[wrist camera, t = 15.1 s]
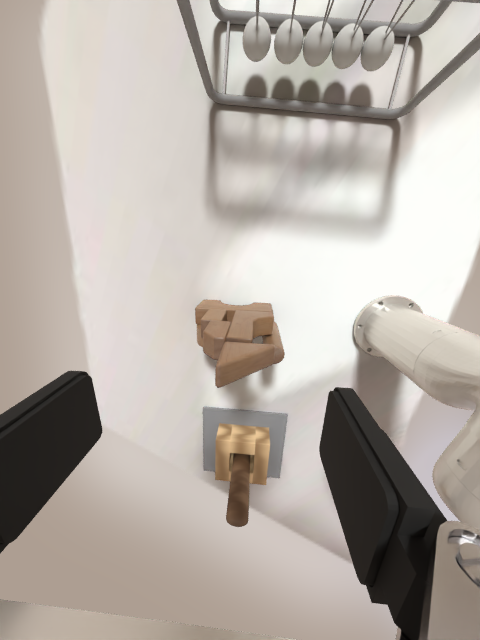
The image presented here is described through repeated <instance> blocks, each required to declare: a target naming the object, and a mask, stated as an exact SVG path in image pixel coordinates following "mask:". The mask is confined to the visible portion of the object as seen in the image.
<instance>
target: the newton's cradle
mask: <svg viewBox="0 0 480 640" xmlns="http://www.w3.org/2000/svg"><path fill="white" fill-rule="evenodd" d="M373 1H374V0H372V1H371V3H370V5H369V7H368V9H367V10H366V12H365V14H364V16H363V18H362V20H359V18H360V15H361V13H362V10H363V7H364V5H365V2H366V0H365V1H364V4H363V6H362V9H361V11H360V14H359V17H358V19H357V20H355V19H342V18H328V16H329V14H330V11H331V8H332V5H333V2H334V0H332V3H331V6H330V9H329V12H328V15H327V11H328V7H329V4H330V0H329V2H328V6H327V10H326V13H325V17H315V16H302V15H294V10H295V4H296V0H294V5H293V12H292V15H288V14H275V13H261V12H259V0H256V12H248V11H235V10H227V9H224V8H223V7H222V6H221V5H220V4H219V2H218V0H210V5H211V8H212V11H213V12H214V14H215V16H216V17H217V18H218V19H219V20H221V21H223V22H225V23H227V34H226V49H225V64H224V79H223V94H221V93H218V92H216V91H215V90H214V89H213V86H212V82H211V78H210V75H209V71H208V67H207V64H206V60H205V56H204V53H203V49H202V45H201V42H200V38H199V34H198V31H197V27H196V23H195V20H194V16H193V12H192V9H191V5H190V1H189V0H177V3H178V6H179V9H180V12H181V15H182V18H183V21H184V24H185V27H186V31H187V34H188V37H189V40H190V43H191V46H192V49H193V52H194V55H195V58H196V62H197V65H198V68H199V71H200V74H201V77H202V80H203V83H204V86H205V89H206V92H207V94H208V96H209V97H210V98H211V99H212V100H213V101H215V102H217V103H220V104H227V105H238V106H249V107H260V108H271V109H282V110H293V111H304V112H315V113H326V114H337V115H348V116H359V117H370V118H381V119H395V118H399V117H402V116H404V115H406V114H407V113H409V112H410V111H411V110H412V109H414V108H415V107H416V106H417V105H418V104H419V103H420V102H421V101H422V100H424V99H425V98H426V97H427V96H428V95H429V94H430V93H431V92H432V91H434V90H435V89H436V88H437V87H438V86H439V85H440V84H441V83H442V82H444V81H445V80H446V79H447V78H448V77H449V76H450V75H451V74H452V73H454V72H455V71H456V70H457V69H458V68H459V67H460V66H461V65H462V64H464V63H465V62H466V61H467V60H468V59H469V58H470V57H471V56H472V55H474V54H475V53H476V52H477V51H478V50H479V49H480V33H479V34H478V35H477V36H476V37H475V38H474V39H473V40H472V41H471V42H470V43H469V44H468V45H467V46H466V47H465V48H464V49H463V50H462V51H461V52H460V53H459V54H458V55H457V56H456V57H454V58H453V59H452V60H451V61H450V62H449V63H448V64H447V65H446V66H445V67H444V68H443V69H442V70H441V71H440V72H439V73H438V74H437V75H436V76H435V77H434V78H433V79H432V80H431V81H430V82H429V83H428V84H427V85H426V86H425V87H424V88H423V89H422V90H421V91H419V92H418V93H417V94H416V95H415V96H414V97H413V98H412V99H411V100H410V101H409V102H408V103H407V104H406V105H405V106H403V107H400V108H396V109H391V108H392V105H393V101H394V97H395V93H396V89H397V85H398V81H399V78H400V74H401V70H402V66H403V62H404V58H405V54H406V51H407V47H408V43H409V39H410V37H414V36H417V35H420V34H422V33H424V32H425V31H427V30H428V29H430V28H431V27H432V26H433V25H434V24H435V23H436V21H437V20H438V19H439V18H440V16H441V15H442V14H443V13H444V11H445V10H446V9H447V7H448V6H449V5H450V4H451V2H452V1H456V2H470V3H480V0H441V1H440V3H439V4H438V5H437V7H436V8H435V10H434V11H433V12H432V14H431V15H430V16H429V17H428V18H427V19H426V20H424V21H422V22H420V23H417V24H409V23H398V22H399V21H400V20H401V18H402V17H403V16H404V14H405V13H406V12H407V10H408V9H409V8H410V6H411V5H412V4H413V2H414V1H415V0H413V1H412V2H411V4H410V5H409V6H408V8H407V9H406V10H405V12H404V13H403V14H402V16H401V17H400V18H399V20H398V21H397V22H396V23H395V22H392V21H393V19H394V17H395V15H396V13H397V11H398V9H399V7H400V6H401V4H402V2H403V0H401V2H400V4H399V6H398V8H397V10H396V12H395V14H394V16H393V18H392V20H391V22H382V21H368V20H363V19H364V17H365V15H366V14H367V12H368V10H369V8H370V6H371V5H372V3H373ZM326 15H327V17H326ZM230 24H243V25H246V26H245V29H244V32H243V48H244V51H245V54H246V56H247V57H248V58H249V59H250V60H251V61H254V62H258V61H261V60H262V59H263V58H264V57H265V56H266V55H267V53H268V51H269V48H270V43H271V32H270V28H269V27H279V29H278V31H277V33H276V36H275V41H274V49H275V54H276V57H277V59H278V60H279V61H280V62H281V63H283V64H290V63H292V62H294V61H295V60H296V58H297V57H298V56H299V54H300V52H301V49H302V45H303V55H304V59H305V61H306V62H307V64H308V65H310V66H313V67H316V66H319V65H321V64H322V63H323V62H324V61H325V60H326V59H327V57H328V56H329V54H330V51H331V48H332V60H333V63H334V65H335V66H336V67H337V68H339V69H345V68H348V67H350V66H351V65H352V64H353V63H354V62H355V61H356V60H357V58H358V56H359V55H360V52H361V64H362V67H363V68H364V69H365V70H367V71H375V70H377V69H379V68H380V67H381V66H383V65H384V64H385V62H386V61H387V60H388V58H389V56H390V55H391V53H392V50H393V46H394V36H399V37H407V38H406V42H405V46H404V50H403V54H402V58H401V62H400V66H399V70H398V74H397V77H396V81H395V85H394V89H393V93H392V97H391V101H390V105H389V109H386V108H375V107H363V106H352V105H341V104H330V103H318V102H307V101H296V100H285V99H274V98H262V97H251V96H240V95H229V94H225V88H226V73H227V59H228V44H229V30H230ZM302 29H308V30H309V31H308V32H307V34H306V37H305V40H304V44H303V31H302ZM332 31H334V32H339V33H338V35H337V36H336V38H335V41H334V43H333V32H332ZM363 34H370V35H369V36H368V37H367V39H366V41H365V42H364V45H363V40H364V38H363ZM332 44H333V47H332ZM361 50H362V51H361Z"/></svg>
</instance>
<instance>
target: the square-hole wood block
mask: <svg viewBox="0 0 480 640" xmlns="http://www.w3.org/2000/svg"><path fill="white" fill-rule="evenodd" d="M269 451H270V435H269V428H267V427H256V426H245V425H233V424H222V423H219V427H218V432H217V436H216V457H215V480H223V481H230V480H231V472H232V463H233V454H234V453H238V454H249V455H250V481H249V483H252V484H262V485H266V480H267V470H268V461H269Z"/></svg>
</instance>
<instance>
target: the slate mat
mask: <svg viewBox="0 0 480 640" xmlns="http://www.w3.org/2000/svg"><path fill="white" fill-rule="evenodd" d="M287 416H288V415H287V414H282V413H270V412H259V411H247V410H235V409H223V408H212V407H203V454H204V471H214V472H215V457H216V436H217V432H218V427H219V423H222V424H233V425H245V426H256V427H267V428H269V435H270V451H269V461H268V470H267V477H273V478H280V470H281V462H282V455H283V447H284V439H285V432H286V424H287Z"/></svg>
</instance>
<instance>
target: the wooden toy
mask: <svg viewBox="0 0 480 640" xmlns="http://www.w3.org/2000/svg"><path fill="white" fill-rule="evenodd" d="M195 315H196V324H197V342H198V344H199V345H200V346H202V347H203V351H204V353H205V354H207V355H208V356H210V357H211V358H212V359H214V360H218V362H217V364H216V378H215V385H216V386H217V388H219V387H222V386H225V385H227V384H229V383H232V382H234V381H236V380H238V379H241V378H243V377H245V376H248V375H250V374H252V373H254V372H257V371H259V370H261V369H264V368H266V367H268V366H270V365H272V364H277V363H279V362H281V361H282V360H283V358H284V349H283V345H282V342H281V338H280V334H279V330H278V326H277V324H276V323H275V322H274V316H273V310H272V306H271V304H270V303H252V304H250V305H243V306H239V305H227V304H223V303H222V302H221V301H218V300H203V301H202V302H201V303H200V304H199V305H198V306H197V307H196V308H195ZM257 336H262V338H263V344H257V343H252V340H253V339H254V338H256V337H257Z"/></svg>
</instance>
